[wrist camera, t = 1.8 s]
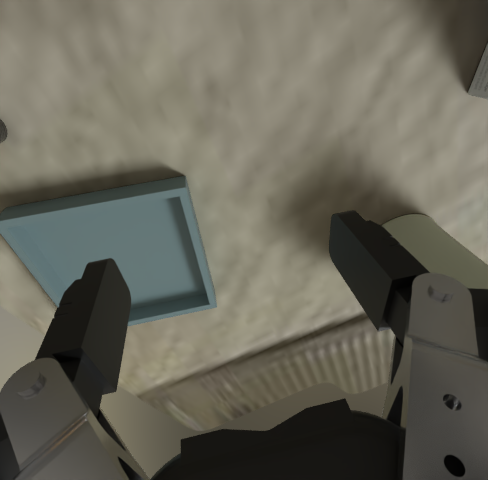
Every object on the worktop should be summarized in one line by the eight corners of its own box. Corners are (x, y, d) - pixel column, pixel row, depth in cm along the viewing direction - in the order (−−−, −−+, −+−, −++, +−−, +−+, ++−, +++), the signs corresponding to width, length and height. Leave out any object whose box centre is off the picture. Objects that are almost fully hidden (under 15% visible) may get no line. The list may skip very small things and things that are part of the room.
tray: (5, 207, 21) (-8, 222, 20) (185, 175, 22) (185, 187, 21) (85, 319, 29) (80, 336, 28) (215, 292, 30) (217, 307, 29)
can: (447, 246, 32) (558, 338, 23) (375, 292, 35) (448, 391, 26) (421, 196, 28) (548, 286, 18) (340, 253, 30) (413, 359, 21)
